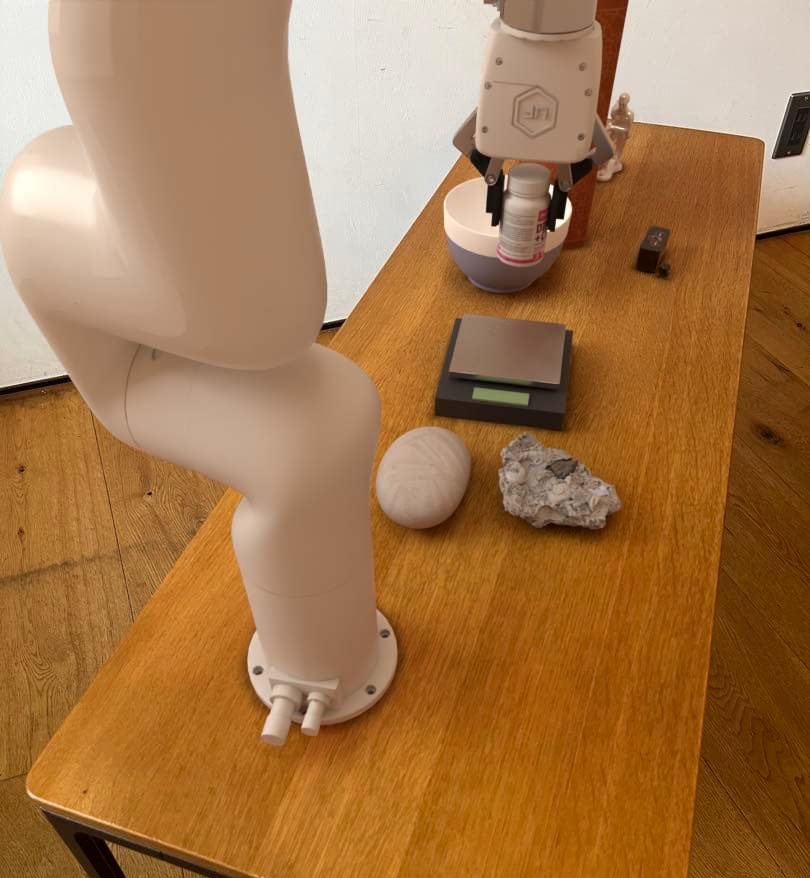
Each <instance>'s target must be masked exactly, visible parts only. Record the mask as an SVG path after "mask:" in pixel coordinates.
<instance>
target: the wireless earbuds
mask: <svg viewBox="0 0 810 878" xmlns="http://www.w3.org/2000/svg"><path fill="white" fill-rule="evenodd" d="M670 235H671V230H670V228H666V227H662V226H657V225H651V226H650V227H649V228H648V230H647V232H646V234H645V236H644V238H643V239H642V241H641V243H640V246H639V248H638V252H637V253H638V254H637V257H636V262H635V268H636V269H637V270H640V271H644V272H648V273H653V272H655V271H656V270H657V269H658V270H657V275H658V276H660V277H663V278H669V275H670V270H671V269H672V264H671V263H670V262H666V263H664V264H663V265H660V267H659V268H658V266H659V264H660V263H661V260H662V258H663V256H664V255H665V252H666V249H667V246H668V243H669V238H670Z"/></svg>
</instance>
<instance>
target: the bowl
mask: <svg viewBox="0 0 810 878" xmlns="http://www.w3.org/2000/svg"><path fill="white" fill-rule="evenodd" d="M504 175H505V183H504V191H505V189H506V188H507V180H508V174H504ZM487 186H488V185H487V184H486V183H485V181H484V177H483V176H480V177H475V178H472V179H468V180H466V181H464V182H462V183H459V184H457V185H456V186H455V187H453V188H452V189H451V190H450V191H449V192H448V193H447V194H446V196H445V198H444V201H443V228H444V232H445V238H446V244H447V248H448V250H449V253H450V255H451V256H452V257H451V258H453V261H454V262H455V264H456V266H457V267H458V269H459V270H460V271H461V272H462V273H463V274H464V275H465V276H466V277H467V279H468V281H470V283H471V284H473V285H474V286H475V287H477V288H479V289H480V290H483V291H487V292H490V293H497V294H509V293H510V294H511V293H515V292H520V291H522V290H523V291H524V290H525V289H527V288H528V287H530V286H532V284H533V283H534V282H535V280H538V279H539V278H540V277H542V276H543V275H544V274H546V273H547V271H548V270H549V269H550V267H551V266H552V265H553V264H554V262H555V261H556V260H557V259H558V257H559V255H560V253H561V251H562V250H563V249H562V246H563V243H564V240H565V238H566V236H567V232H568V227H569V223H570V218H571V214H572V206H571V202H570V200H569V199H568V197H567V203H566V209H565V216H564V220H560V219H556V226H555V232H549V231H550V230H547V237H546V244H545V251H544V256H543V258H542V260H541V261H540V262H539V263H537V264H535V265H533V266H529V267H516V266H511V265H508V264H506V263H504V262H502V261H501V260H500V259H499V257H498V255H497V245H498V236H499V226H498V225H497V226H496V227H493V226H491V220H492V213H486V199H487ZM553 187H554V186H553V185H550V188H549V192H550V194H551V197H552V194H553ZM499 225H500V222H499Z"/></svg>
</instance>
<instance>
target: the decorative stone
mask: <svg viewBox="0 0 810 878" xmlns="http://www.w3.org/2000/svg"><path fill="white" fill-rule="evenodd" d="M470 453H471V452H470V450H469V448H468V446H467V444H466V443H465V442H464V441H463V439H462V438H461V437H460V436H459V435H458V434H456V433H455V432H453V431H452V430H449V429H447V428H444V427H440V426H433V425H427V426H420V427H417V428H413V429H411V430H409V431H407V432H405V433H403V434H401V435H400V436H399V437H397V438H396V439H395V440H394V441H393V442H392V443H391V444H390V446H389V447H388V448H387V450H386V452H385V453H384V455H383V457H382V459H381V460H380V463H379V465H378V469H377V472H376V478H375V494H376V498H377V500H378V504H379V506H380V508H381V510H382V512H383V513H384V514H385V515H386V516H387V517H388V518H389V519H390V520H391V521H392V522H394V523H396V524H398V525H400V526H403V527H405V528H408V529H409V528H410V529H421V530H422V529H429V528H432V527H435V526H437V525H439V524H441V523H443V522H445V521H446V520H447V519H449V517H450V516H452V515H453V513H454V512H455V511H456V510H457V508H458V506H459V505H460V504H461V502H462V499H463V497H464V495H465V493H466V490H467V487H468V484H469V482H470V476H471V472H472V458H471V454H470Z"/></svg>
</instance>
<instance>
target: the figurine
mask: <svg viewBox="0 0 810 878" xmlns="http://www.w3.org/2000/svg"><path fill="white" fill-rule="evenodd" d="M630 100H631V97H630V93H627V92H622V93H621V94H620V95H619V96H618V99H617V100H616V101H615V103H614V104H613V106H612V108H611V109H610V112H609V113H610V118H611V120H610V121H609V122H608V123H607V125H606V131H607V132H608V134H609V136H610V138H611V140H612V142H613V143H614V146H615V151H614V156H615V158H614V159H613V158H611V159H610V160H608V161H606V162H605V163H603V164H601V169H600V170H598V174H597V180H596V182H608V181H609V180H611V179H612V177H613V174H616V173H619V172H621V171H622V170H623V164H622V163H621V161H620V160H621V158H622V155H623V153H624V149H625V147H626V143H627V141H628V140H630V139H631V137H632V132H631V129H632V127H633V123H634V121H635V112H634V111H632V110H631V109H630V108H629V106H628V104H629V103H630Z"/></svg>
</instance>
